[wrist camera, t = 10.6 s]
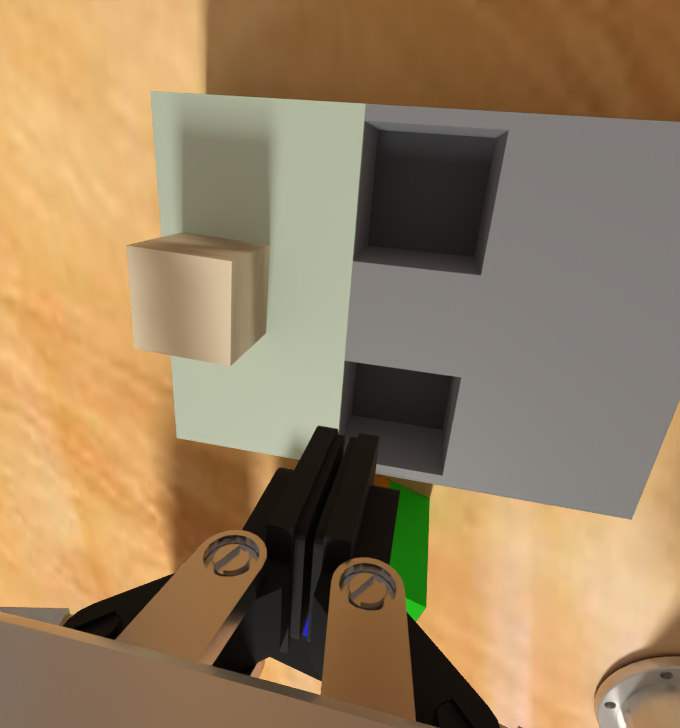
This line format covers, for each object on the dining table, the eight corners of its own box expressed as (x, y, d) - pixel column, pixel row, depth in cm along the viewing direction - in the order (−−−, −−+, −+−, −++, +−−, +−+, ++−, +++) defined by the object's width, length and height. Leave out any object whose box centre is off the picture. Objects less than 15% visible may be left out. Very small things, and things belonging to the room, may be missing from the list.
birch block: (269, 244, 25) (231, 261, 20) (265, 333, 27) (230, 366, 22) (182, 232, 26) (126, 245, 21) (184, 319, 28) (134, 348, 23)
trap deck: (710, 137, 24) (788, 128, 19) (599, 460, 32) (631, 519, 27) (205, 106, 29) (150, 91, 23) (216, 398, 36) (176, 437, 31)
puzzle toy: (272, 531, 41) (223, 634, 32) (311, 443, 36) (269, 534, 27) (377, 580, 40) (359, 699, 31) (429, 498, 36) (426, 607, 27)
